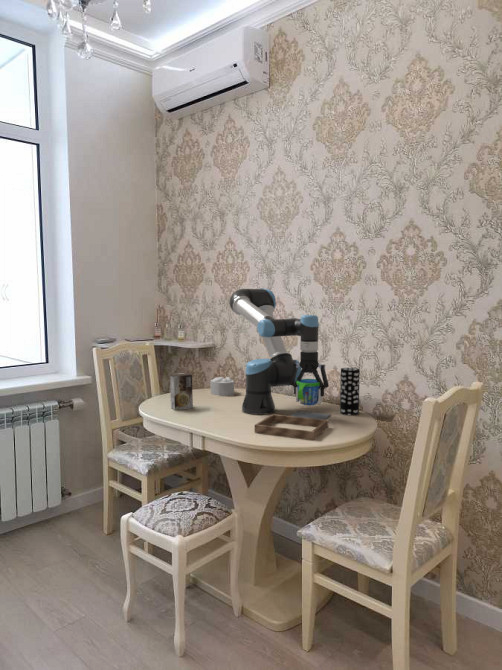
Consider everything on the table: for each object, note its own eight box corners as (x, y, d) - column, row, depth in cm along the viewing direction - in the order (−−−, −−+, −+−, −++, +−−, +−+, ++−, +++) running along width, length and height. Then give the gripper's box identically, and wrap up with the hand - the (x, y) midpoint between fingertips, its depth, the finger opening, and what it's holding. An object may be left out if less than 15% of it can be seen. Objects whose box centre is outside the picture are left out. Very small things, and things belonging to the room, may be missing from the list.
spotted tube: (358, 415, 228) (359, 370, 226) (339, 414, 230) (340, 370, 228) (358, 411, 236) (359, 368, 234) (340, 410, 238) (341, 367, 236)
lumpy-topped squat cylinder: (222, 390, 283) (222, 375, 282) (238, 394, 274) (238, 378, 273) (208, 393, 276) (207, 377, 275) (224, 397, 267) (224, 380, 266)
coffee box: (188, 405, 248) (188, 372, 246) (193, 408, 242) (192, 374, 240) (170, 407, 244) (169, 373, 242) (174, 410, 238) (173, 375, 236)
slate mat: (286, 420, 221) (286, 418, 220) (297, 412, 234) (297, 411, 234) (320, 423, 214) (320, 422, 214) (330, 415, 228) (330, 414, 228)
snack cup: (308, 408, 214) (309, 384, 213) (288, 405, 221) (288, 381, 220) (328, 402, 226) (329, 379, 225) (308, 399, 233) (308, 377, 232)
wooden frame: (254, 432, 202) (254, 425, 201) (272, 421, 219) (272, 414, 218) (313, 440, 192) (313, 432, 191) (327, 427, 209) (328, 420, 209)
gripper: (281, 350, 223) (281, 402, 225) (332, 353, 214) (331, 406, 216) (288, 349, 230) (287, 398, 231) (336, 351, 220) (336, 403, 222)
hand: (308, 402), depth 223 cm, fingers closed on snack cup, 9 cm apart
